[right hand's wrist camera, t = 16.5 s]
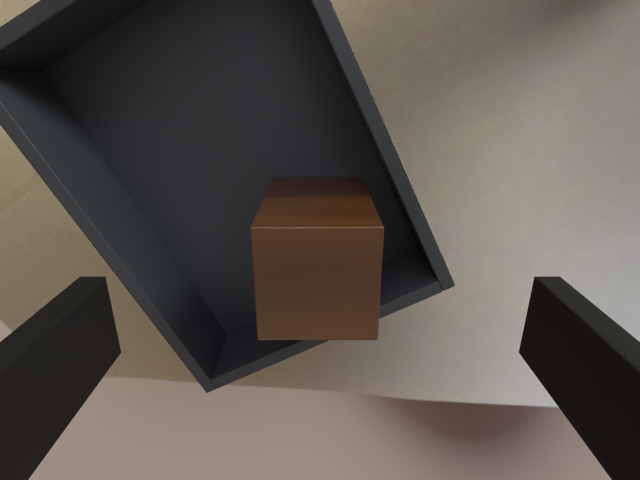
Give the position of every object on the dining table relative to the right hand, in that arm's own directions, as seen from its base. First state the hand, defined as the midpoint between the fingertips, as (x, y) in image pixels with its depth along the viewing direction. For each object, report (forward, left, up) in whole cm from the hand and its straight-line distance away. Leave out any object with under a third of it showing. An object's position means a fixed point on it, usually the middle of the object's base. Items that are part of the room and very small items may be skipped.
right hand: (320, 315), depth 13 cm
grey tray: (-6, -5, -10) cm, 13 cm away
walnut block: (0, 0, -9) cm, 9 cm away
